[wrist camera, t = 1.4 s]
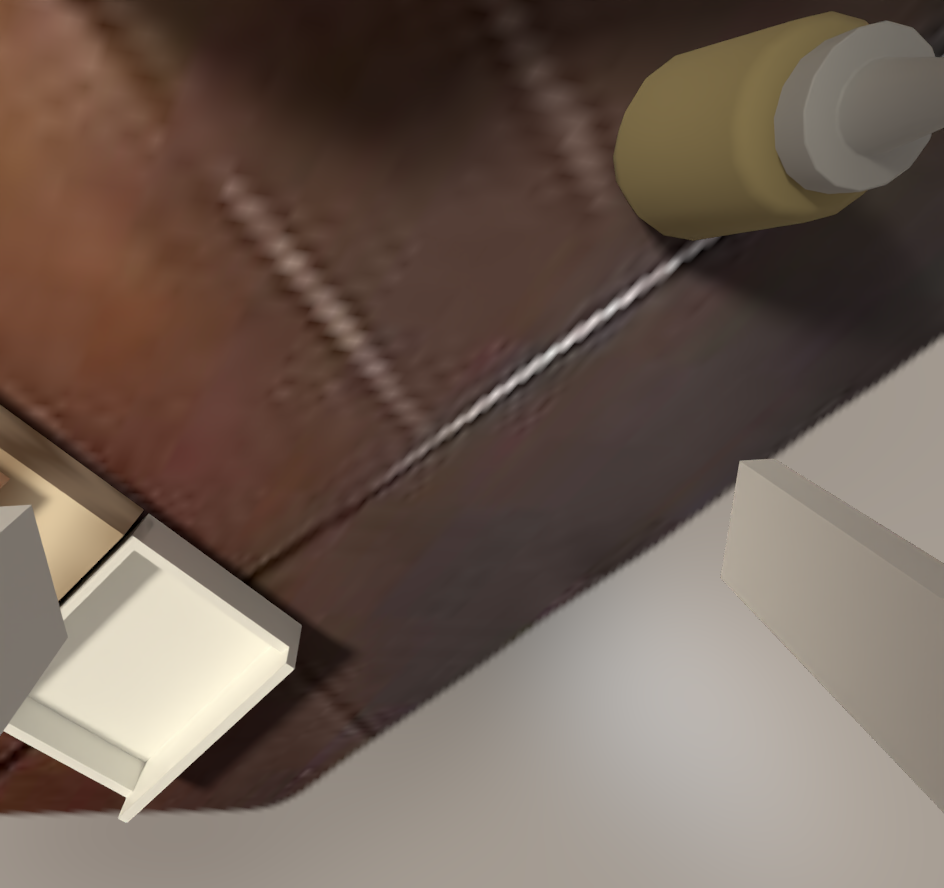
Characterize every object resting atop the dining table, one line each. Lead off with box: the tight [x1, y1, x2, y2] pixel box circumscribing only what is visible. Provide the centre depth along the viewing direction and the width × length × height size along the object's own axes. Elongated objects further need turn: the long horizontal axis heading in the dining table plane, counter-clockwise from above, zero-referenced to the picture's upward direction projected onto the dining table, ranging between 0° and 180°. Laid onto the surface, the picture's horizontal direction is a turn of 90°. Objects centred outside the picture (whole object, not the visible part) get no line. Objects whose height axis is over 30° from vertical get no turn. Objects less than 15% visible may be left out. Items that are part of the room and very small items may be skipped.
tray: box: [4, 514, 302, 823], centre depth 35 cm, size 11×14×4 cm
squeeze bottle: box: [613, 11, 944, 241], centre depth 24 cm, size 8×8×18 cm
